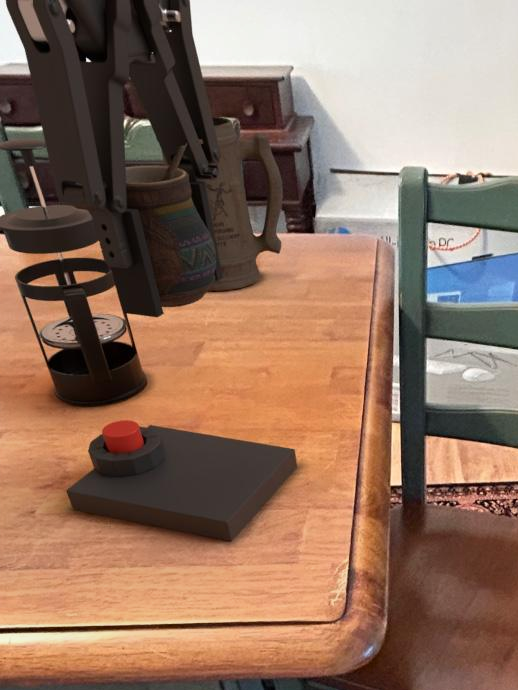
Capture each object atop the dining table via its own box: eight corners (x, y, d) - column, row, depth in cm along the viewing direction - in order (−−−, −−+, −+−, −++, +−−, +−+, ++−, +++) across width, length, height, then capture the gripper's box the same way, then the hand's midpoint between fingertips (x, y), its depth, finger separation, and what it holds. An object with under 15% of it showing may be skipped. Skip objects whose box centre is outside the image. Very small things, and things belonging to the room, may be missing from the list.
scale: (63, 507, 62) (48, 471, 60) (146, 441, 71) (136, 407, 68) (231, 541, 59) (223, 504, 56) (297, 467, 67) (292, 432, 65)
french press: (49, 376, 81) (-40, 133, 66) (137, 360, 85) (71, 126, 70) (63, 421, 74) (-35, 158, 58) (159, 401, 77) (90, 148, 62)
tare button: (100, 452, 63) (94, 433, 62) (121, 435, 65) (116, 417, 64) (130, 457, 62) (124, 438, 61) (151, 440, 64) (146, 422, 63)
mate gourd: (156, 277, 57) (120, 125, 50) (245, 287, 55) (220, 131, 49) (99, 308, 52) (50, 143, 45) (195, 321, 50) (159, 151, 44)
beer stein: (185, 296, 101) (159, 124, 88) (173, 272, 108) (148, 111, 96) (295, 289, 106) (285, 127, 94) (276, 268, 114) (265, 114, 101)
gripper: (-14, -189, 30) (137, 354, 45) (232, -139, 45) (285, 259, 60) (-156, -183, 32) (35, 339, 47) (126, -137, 46) (203, 250, 61)
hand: (175, 294), depth 53 cm, fingers closed on mate gourd, 7 cm apart
